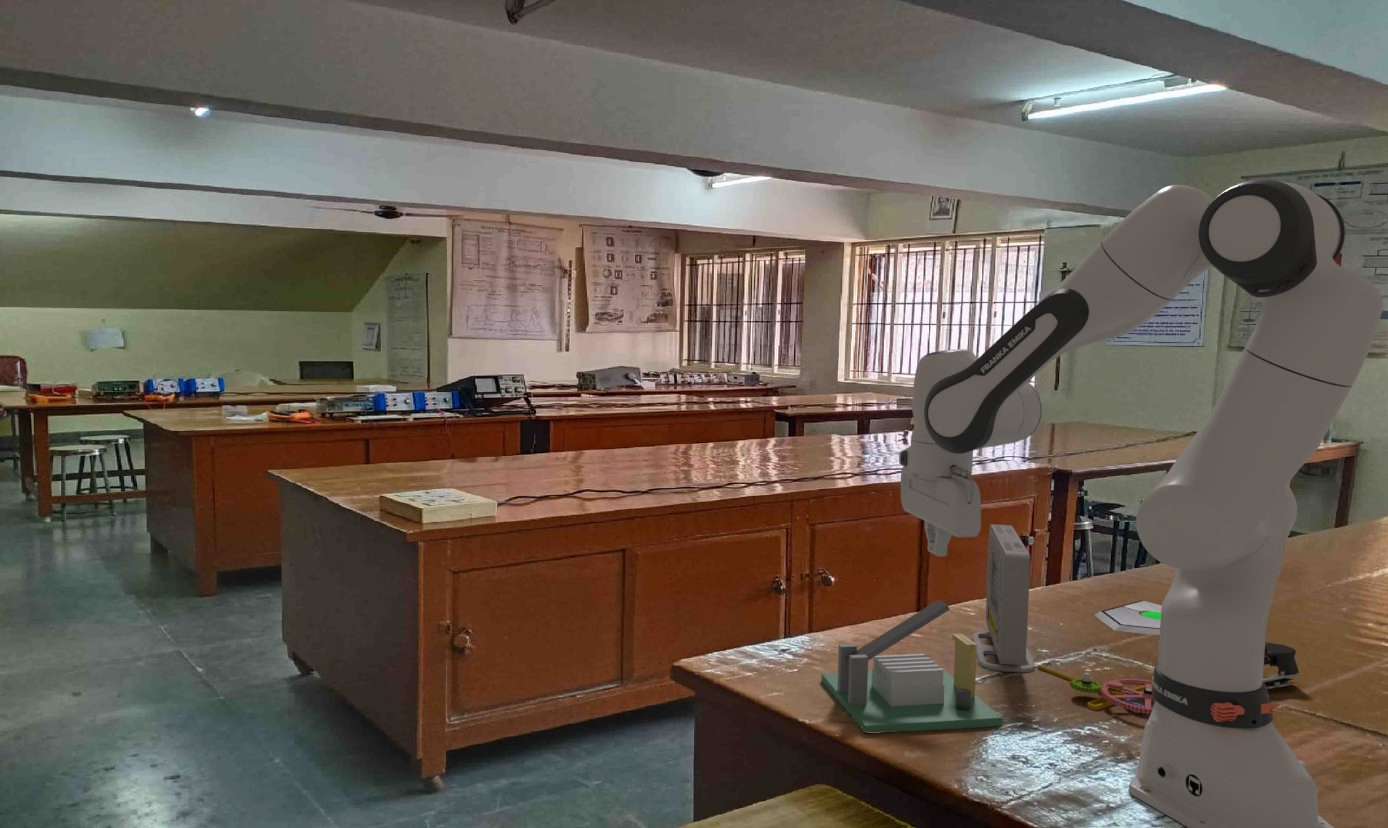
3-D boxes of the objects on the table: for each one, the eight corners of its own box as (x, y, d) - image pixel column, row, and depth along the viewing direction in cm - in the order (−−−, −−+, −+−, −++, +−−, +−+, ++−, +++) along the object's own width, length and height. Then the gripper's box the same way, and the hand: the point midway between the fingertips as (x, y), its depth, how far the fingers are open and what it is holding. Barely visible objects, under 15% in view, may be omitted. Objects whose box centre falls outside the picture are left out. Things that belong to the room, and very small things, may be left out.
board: (1002, 725, 134) (1004, 661, 133) (865, 733, 131) (867, 668, 130) (941, 674, 154) (943, 618, 153) (821, 680, 151) (822, 623, 150)
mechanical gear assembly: (1189, 749, 128) (1249, 729, 137) (1192, 718, 128) (1251, 700, 136) (1007, 678, 154) (1066, 665, 162) (1009, 653, 153) (1068, 641, 161)
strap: (950, 610, 141) (947, 604, 140) (855, 669, 139) (852, 664, 139) (941, 604, 144) (938, 598, 144) (848, 662, 142) (844, 656, 142)
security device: (1069, 623, 185) (1070, 612, 185) (1134, 605, 197) (1135, 595, 197) (1155, 648, 171) (1155, 637, 171) (1218, 627, 184) (1219, 617, 183)
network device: (1040, 680, 152) (1045, 556, 150) (982, 676, 154) (987, 553, 152) (1019, 631, 177) (1023, 524, 175) (969, 628, 179) (973, 521, 177)
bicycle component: (1254, 693, 143) (1315, 681, 149) (1241, 643, 145) (1301, 634, 151) (1185, 697, 153) (1245, 686, 159) (1173, 651, 155) (1232, 642, 161)
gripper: (995, 471, 130) (990, 571, 132) (933, 451, 150) (929, 538, 152) (951, 472, 129) (947, 572, 131) (894, 451, 149) (891, 539, 151)
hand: (937, 554), depth 141 cm, fingers closed
